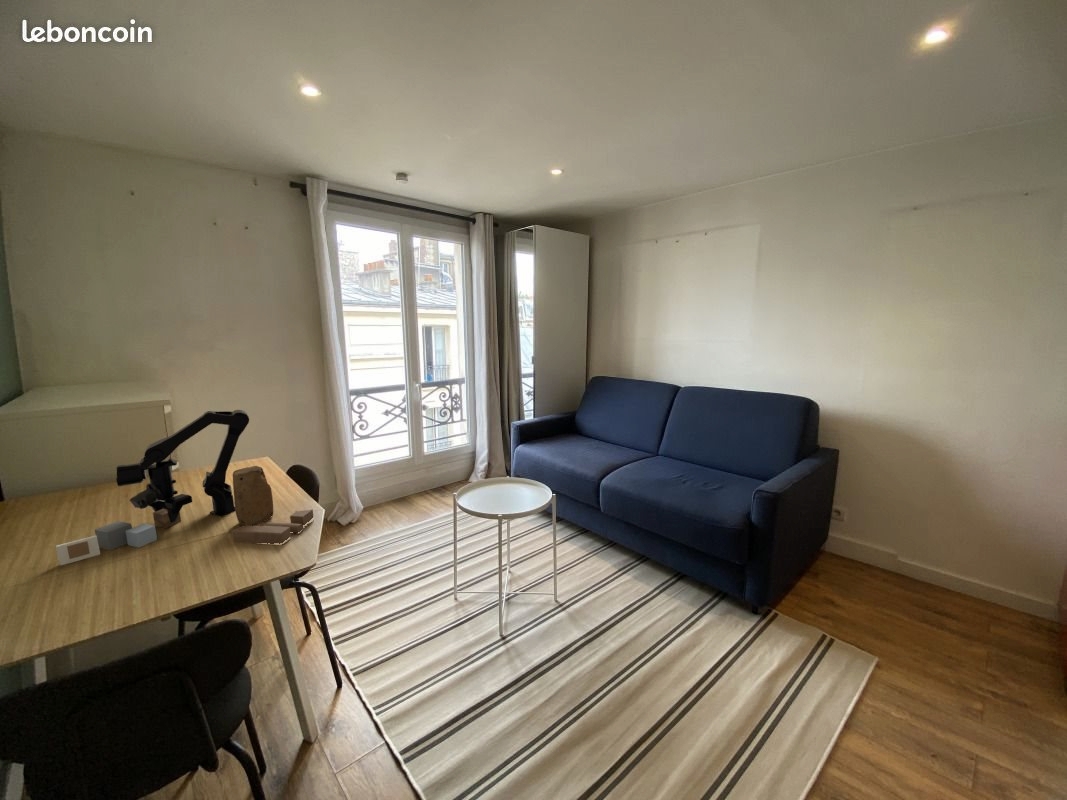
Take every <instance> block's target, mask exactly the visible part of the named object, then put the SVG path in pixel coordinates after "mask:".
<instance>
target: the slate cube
mask: <svg viewBox="0 0 1067 800" xmlns="http://www.w3.org/2000/svg"><path fill="white" fill-rule="evenodd" d="M156 530H157V529H156V526H155V525H151V524H147V523H143V524H142V523H141V524H139V525H137V526H135V527H132V529H129V530H126V531H125V532H126V537H127V546H131V547H135V548H139V549H140V548H141V547H144V546H146V545H148V544H151V543H153V542H156V541H158V536H157V531H156Z"/></svg>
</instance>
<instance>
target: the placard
mask: <svg viewBox="0 0 1067 800" xmlns="http://www.w3.org/2000/svg"><path fill="white" fill-rule="evenodd" d="M55 547H56V548H55V549H56V554H57V559H58V563H59V566H64V565H68V564H71V563H75V562H78V561H82V560H85V559H89V558H92V557H97V556H100V555H101V549H100V547H99V545H98V540H97V535H92V536H88V537H84V538H81V539H80V538H79V539H77V540H73V541H69V542H64V543H62V544H57V545H55Z"/></svg>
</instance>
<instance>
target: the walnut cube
mask: <svg viewBox="0 0 1067 800" xmlns="http://www.w3.org/2000/svg"><path fill="white" fill-rule="evenodd" d="M180 512H181V511H180ZM180 512H179V514H178V516H177V519H176V521H175V522H173V523H171V521H170V518H169V515H168V512H167V510H165V509H161V510H159V511H156V512H155V511H154V512H152V517H153V522H154V526H155V527H158V528H162V529H167V528H169V527H171V526H173V525H176V524H179V523H181V522H182V518H181V513H180Z"/></svg>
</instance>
